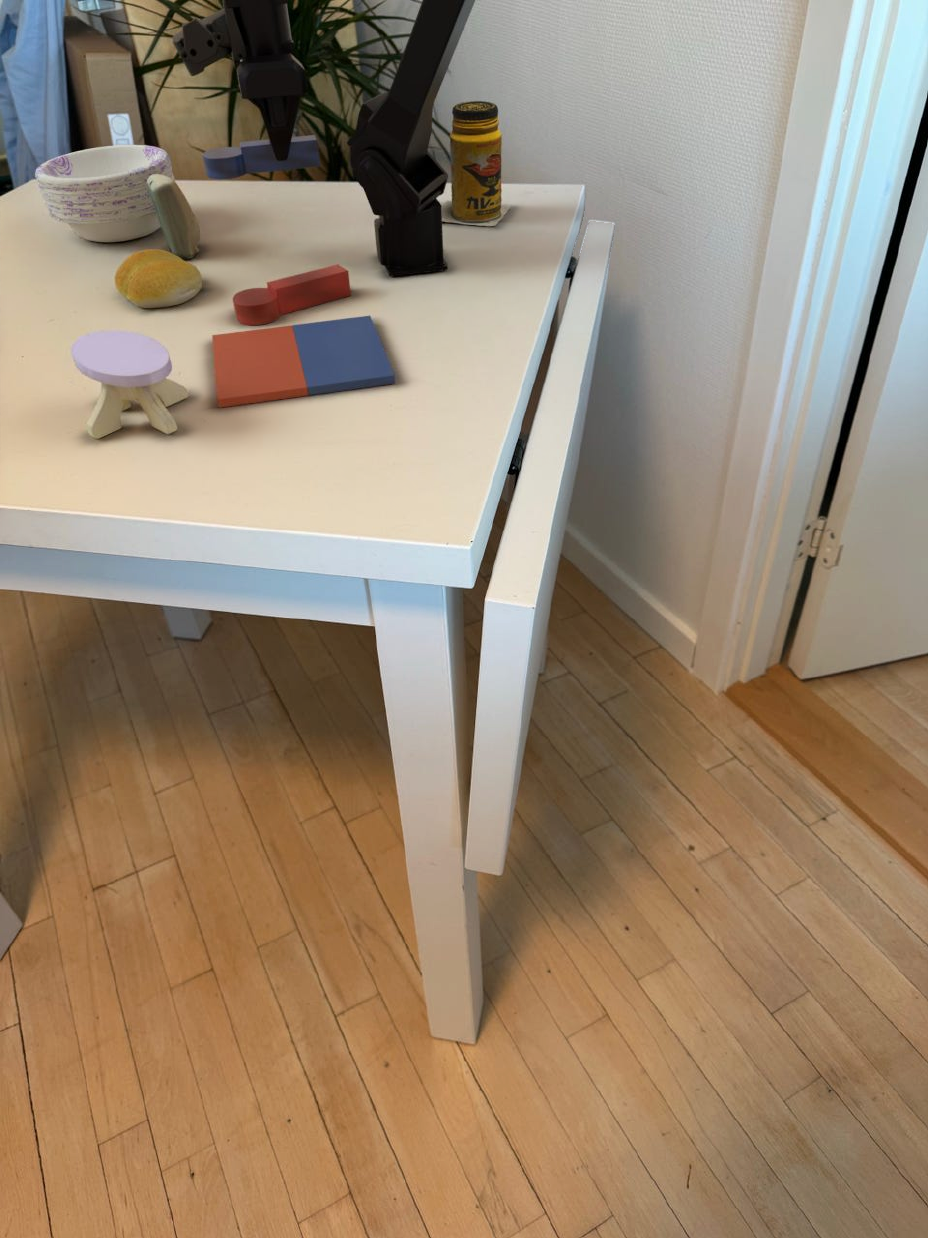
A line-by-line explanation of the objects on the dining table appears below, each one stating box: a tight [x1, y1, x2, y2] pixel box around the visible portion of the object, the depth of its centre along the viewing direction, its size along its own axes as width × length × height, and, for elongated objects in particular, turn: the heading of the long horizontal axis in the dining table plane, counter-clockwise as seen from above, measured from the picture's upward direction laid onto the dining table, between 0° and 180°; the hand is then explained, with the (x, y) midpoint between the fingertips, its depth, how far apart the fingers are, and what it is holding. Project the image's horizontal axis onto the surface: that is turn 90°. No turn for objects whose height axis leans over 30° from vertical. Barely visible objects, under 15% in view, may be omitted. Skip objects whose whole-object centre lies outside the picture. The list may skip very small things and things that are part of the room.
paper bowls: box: [34, 144, 176, 243], centre depth 104 cm, size 15×15×8 cm
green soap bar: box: [147, 174, 202, 261], centre depth 98 cm, size 6×5×8 cm
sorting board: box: [211, 315, 396, 409], centre depth 78 cm, size 15×13×1 cm
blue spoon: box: [202, 134, 321, 180], centre depth 93 cm, size 12×4×3 cm, turn 104°
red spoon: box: [232, 263, 352, 326], centre depth 87 cm, size 12×4×3 cm, turn 124°
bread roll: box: [114, 248, 203, 309], centre depth 90 cm, size 8×9×4 cm
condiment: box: [441, 100, 512, 227], centre depth 104 cm, size 7×8×12 cm
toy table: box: [70, 329, 189, 440], centre depth 70 cm, size 10×9×6 cm
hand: (281, 157), depth 93 cm, fingers closed on blue spoon, 2 cm apart
